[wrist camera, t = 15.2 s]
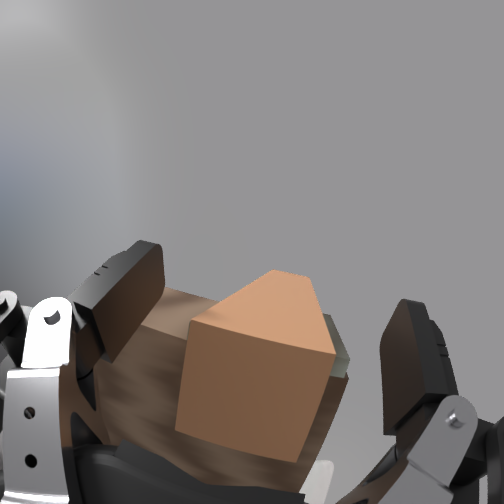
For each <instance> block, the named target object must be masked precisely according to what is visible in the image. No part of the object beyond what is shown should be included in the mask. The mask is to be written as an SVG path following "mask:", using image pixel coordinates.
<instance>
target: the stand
mask: <svg viewBox="0 0 504 504" xmlns="http://www.w3.org/2000/svg"><path fill="white" fill-rule="evenodd" d="M217 303H219V302H217V301H214V300H210V299H207V298H203V297H199V296H196V295H192V294H188V293H185V292H181V291H178V290H174V289H171V288H167V287H165V288H164V292H163V294H162V296H161V298H160V300H159V301H158V302H157V303H156V305H155V306H154V307H153V309H152V310H151V311H150V313H149V314H148V315H147V317H146V318H145V319H144V321H143V322H142V323H141V325H140V326H139V327H138V329H137V330H136V331H135V333H134V334H133V335H132V337H131V338H130V339H129V341H128V342H127V344H126V345H125V346H124V348H123V349H122V350H121V352H120V353H119V355H118V356H117V357H116V359H115V360H114V362H113V363H112V364H111V363H109V362H107V361H105V360H103V359H101V358H100V359H99V360H98V361H97V363H96V367H97V374H98V386H99V396H100V405H101V413H102V418H103V421H104V424H105V426H106V429H107V431H108V434H109V438H110V442H111V445H115V446H119V445H120V443H121V441H122V439H124V440H126V441H128V442H131V443H133V444H135V445H137V446H139V447H141V448H143V449H146V450H148V451H150V452H152V453H155V454H157V455H159V456H162V457H164V458H165V459H167V460H168V461H170V462H171V463H172V464H174V465H175V466H177V467H178V468H180V469H182V470H183V471H185V472H186V473H188V474H189V475H191V476H193V477H194V478H196V479H197V480H199V481H201V482H203V483H206V484H210V485H225V486H260V487H265V488H270V489H275V490H281V491H287V492H294V493H299V491H300V489H301V487H302V485H303V483H304V482H305V480H306V478H307V476H308V474H309V472H310V470H311V468H312V466H313V464H314V462H315V460H316V457H317V455H318V453H319V451H320V449H321V447H322V444H323V442H324V440H325V438H326V435H327V433H328V431H329V429H330V426H331V424H332V421H333V419H334V416H335V414H336V412H337V409H338V407H339V404H340V401H341V399H342V396H343V393H344V391H345V388H346V385H347V382H348V379H349V378H348V375H347V372H346V370H347V367H348V364H349V361H350V358H349V356H348V354H347V351H346V349H345V347H344V344H343V342H342V340H341V338H340V335H339V333H338V331H337V329H336V327H335V324H334V322H333V320H332V318H331V316H330V315H328V314H323V313H322V314H323V317H324V320H325V323H326V326H327V329H328V331H329V334H330V337H331V340H332V343H333V346H334V349H335V352H336V357H335V360H334V363H333V366H332V369H331V372H330V376H329V379H328V382H327V384H326V387H325V390H324V393H323V396H322V399H321V402H320V404H319V407H318V410H317V412H316V415H315V418H314V420H313V423H312V425H311V428H310V430H309V433H308V435H307V438H306V440H305V443H304V445H303V448H302V450H301V452H300V455H299V457H298V459H297V461H296V463H294V462H288V461H283V460H278V459H273V458H268V457H263V456H259V455H254V454H250V453H246V452H242V451H238V450H235V449H231V448H227V447H224V446H221V445H217V444H214V443H211V442H208V441H204V440H201V439H198V438H195V437H193V436H190V435H187V434H184V433H181V432H179V431H176V430H175V424H176V416H177V408H178V401H179V393H180V386H181V379H182V372H183V365H184V359H185V352H186V346H187V340H188V334H189V328H190V322H191V319H192V318H194V317H196V316H197V315H199V314H201V313H202V312H204V311H206V310H207V309H209V308H211V307H212V306H214V305H216V304H217Z"/></svg>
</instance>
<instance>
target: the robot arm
mask: <svg viewBox="0 0 504 504" xmlns="http://www.w3.org/2000/svg"><path fill="white" fill-rule="evenodd" d="M164 287H165V276H164V265H163V251H162V247H161V246H160V245H159V244H155V243H151V242H147V241H142V240H139V241H137V242H136V243H135V244H134V245H132V246H131V247H130V248H129V249H128V250H127V251H123V252H121V253H118V254H116V255H114V256H112V257H111V258H109V259H108V260H107V261H106V262H105V263H104V264H103V265H102V267H99V268H98V269H97V270H96V271H95V272H94V274H92V275H91V276H90V277H88V278H87V279H86V280H85V281H84V282H83V283H82V284H81V285H80V286H79V287H78V288H77V289H76V290H74V291H73V292H72V293H71V294H70V295H69V296H68V297H67V298H66V299H63V298H50V299H47V300H44V301H42V302H41V303H39V304H38V305H37V306H36V307H35V308H33V307H27V306H21V305H20V303H19V301H18V298H17V296H16V294H15V293H14V292H12V291H2V292H0V343H1V344H2V345H3V347H4V348H5V350H6V351H7V353H8V355H7V356H6V358H5V359H4V360H3V361H2V363H1V364H0V504H308V503H305V502H304V498H305V494H301V493H294V492H287V491H281V490H275V489H270V488H265V487H260V486H225V485H210V484H206V483H203V482H201V481H199V480H197V479H196V478H194V477H193V476H191V475H189V474H188V473H186V472H185V471H183V470H182V469H180V468H178V467H177V466H175V465H174V464H172V463H171V462H170V461H168V460H167V459H165V458H164V457H162V456H159V455H157V454H155V453H152V452H150V451H148V450H146V449H143V448H141V447H139V446H137V445H135V444H133V443H131V442H128V441H126V440H124V439H122V441H121V443H120V445H119V446H115V445H111V442H110V438H109V434H108V431H107V429H106V426H105V424H104V421H103V418H102V413H101V405H100V396H99V386H98V374H97V367H96V363H97V361H98V360H99V359H100V358H101V359H103V360H105V361H107V362H109V363H111V364H112V363H113V362H114V360H115V359H116V357H117V356H118V355H119V353H120V352H121V350H122V349H123V348H124V346H125V345H126V344H127V342H128V341H129V339H130V338H131V337H132V335H133V334H134V333H135V331H136V330H137V329H138V327H139V326H140V325H141V323H142V322H143V321H144V319H145V318H146V317H147V315H148V314H149V313H150V311H151V310H152V309H153V307H154V306H155V305H156V303H157V302H158V301H159V300H160V298H161V296H162V294H163V292H164ZM445 346H446V344H445V341H444V338H443V334H442V332H441V331H440V329H439V328H438V326H437V325H436V324H435V322H434V321H433V320H430V319H429V316H428V313H427V310H426V307H425V305H424V303H422V302H416V301H411V300H407V299H402V300H401V301H400V302H399V304H398V305H397V307H396V309H395V311H394V313H393V315H392V317H391V319H390V321H389V323H388V325H387V327H386V329H385V331H384V333H383V335H382V338H381V342H380V360H381V374H382V391H383V417H384V418H383V423H384V425H383V429H384V430H383V432H384V435H394V436H396V443H395V444H394V445H393V446H392V447H391V448H390V449H389V451H388V452H387V453H386V454H385V456H384V457H383V458H382V459H381V460H380V462H379V463H378V464H377V465H376V466H375V467H374V469H373V470H372V471H371V472H370V473H369V474H368V475H367V476H366V477H365V478H364V480H363V481H362V482H361V483H360V484H359V485H358V486H357V487H356V488H355V489H353V490H352V491H351V492H350V493H348V494H347V495H346V496H345V497H343V498H342V499H341V500H339V501H338V502H337V503H336V504H479V479H480V478H482V477H484V476H485V475H488V504H504V417H502V418H501V419H500V420H499V421H498V422H497V423H496V424H493V423H490V422H487V421H484V420H481V419H478V418H477V413H476V411H475V408H474V407H473V405H472V404H471V403H470V402H469V401H468V400H467V399H465V398H464V397H462V396H459V394H458V390H457V385H456V381H455V377H454V373H453V369H452V365H451V362H450V358H448V356H449V354H448V351H447V348H446V347H445Z"/></svg>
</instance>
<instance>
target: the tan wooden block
mask: <svg viewBox="0 0 504 504" xmlns="http://www.w3.org/2000/svg"><path fill="white" fill-rule="evenodd" d="M335 357H336V352H335V349H334V346H333V343H332V340H331V337H330V334H329V331H328V329H327V326H326V323H325V320H324V317H323V314H322V311H321V309H320V306H319V303H318V300H317V297H316V295H315V292H314V289H313V287H312V284H311V281H310V278H309V277H305V276H301V275H296V274H291V273H287V272H282V271H278V270H271V271H270V272H268V273H266V274H265V275H263V276H262V277H260V278H258V279H257V280H255V281H253V282H252V283H250V284H249V285H247V286H245V287H244V288H242V289H241V290H239V291H237V292H236V293H234V294H232V295H231V296H229V297H227V298H226V299H224V300H223V301H221V302H219V303H217V304H216V305H214V306H212V307H211V308H209V309H207V310H206V311H204V312H202V313H201V314H199V315H197V316H196V317H194V318H192V319H191V322H190V328H189V334H188V340H187V346H186V352H185V359H184V365H183V372H182V379H181V386H180V393H179V401H178V408H177V416H176V424H175V430H176V431H179V432H181V433H184V434H187V435H190V436H193V437H195V438H198V439H201V440H204V441H208V442H211V443H214V444H217V445H221V446H224V447H227V448H231V449H235V450H238V451H242V452H246V453H250V454H254V455H259V456H263V457H268V458H273V459H278V460H283V461H288V462H294V463H296V461H297V459H298V457H299V455H300V452H301V450H302V448H303V445H304V443H305V440H306V438H307V435H308V433H309V430H310V428H311V425H312V423H313V420H314V418H315V415H316V412H317V410H318V407H319V404H320V402H321V399H322V396H323V393H324V390H325V387H326V384H327V382H328V379H329V376H330V372H331V369H332V366H333V363H334V360H335Z"/></svg>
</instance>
